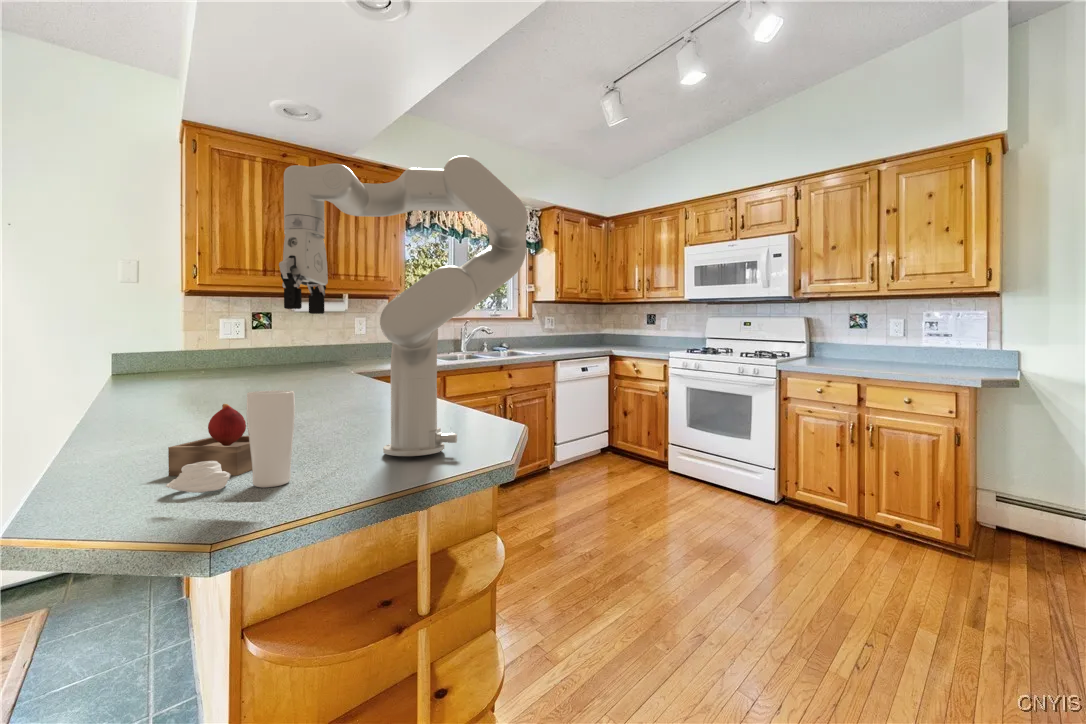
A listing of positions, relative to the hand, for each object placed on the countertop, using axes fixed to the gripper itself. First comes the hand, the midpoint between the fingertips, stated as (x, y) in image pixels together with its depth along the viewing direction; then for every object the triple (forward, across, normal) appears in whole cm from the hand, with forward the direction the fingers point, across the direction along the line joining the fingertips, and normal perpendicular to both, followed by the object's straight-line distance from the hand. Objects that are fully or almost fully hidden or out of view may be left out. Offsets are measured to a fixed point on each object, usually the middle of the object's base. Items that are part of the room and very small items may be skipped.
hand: (305, 311), depth 97 cm
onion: (+26, -10, +10) cm, 30 cm away
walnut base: (+30, -10, +10) cm, 33 cm away
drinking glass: (+31, -22, -5) cm, 38 cm away
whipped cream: (+31, -26, +4) cm, 40 cm away
